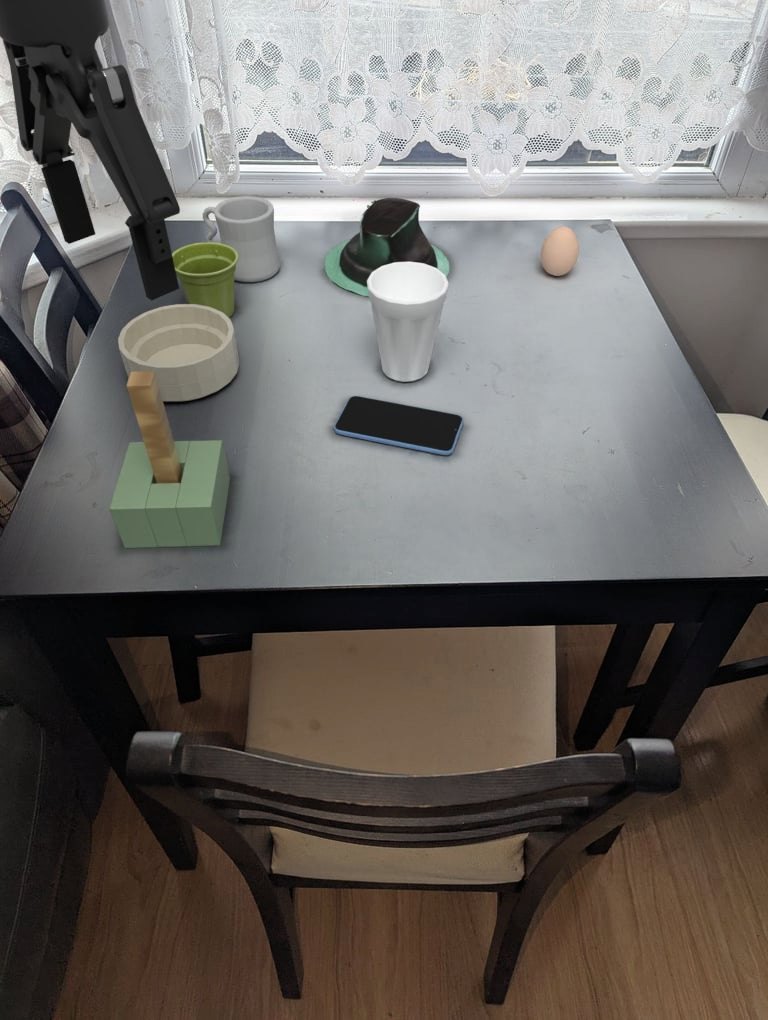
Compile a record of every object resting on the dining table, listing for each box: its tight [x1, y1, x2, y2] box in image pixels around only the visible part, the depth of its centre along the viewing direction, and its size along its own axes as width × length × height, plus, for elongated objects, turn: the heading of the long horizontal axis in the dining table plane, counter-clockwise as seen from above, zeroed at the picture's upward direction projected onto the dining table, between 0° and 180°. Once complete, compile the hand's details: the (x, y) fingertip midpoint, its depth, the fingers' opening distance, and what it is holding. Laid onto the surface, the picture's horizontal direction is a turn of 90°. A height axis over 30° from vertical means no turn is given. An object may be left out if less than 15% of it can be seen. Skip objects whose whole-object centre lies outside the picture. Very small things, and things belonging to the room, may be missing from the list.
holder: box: [109, 439, 231, 549], centre depth 78 cm, size 10×10×6 cm
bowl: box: [117, 303, 240, 402], centre depth 95 cm, size 14×14×6 cm
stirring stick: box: [126, 371, 183, 484], centre depth 73 cm, size 2×2×18 cm
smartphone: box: [333, 395, 464, 456], centre depth 89 cm, size 7×1×15 cm
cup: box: [367, 262, 450, 383], centre depth 93 cm, size 10×10×13 cm
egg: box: [540, 226, 580, 277], centre depth 113 cm, size 6×6×8 cm
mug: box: [202, 195, 281, 283], centre depth 113 cm, size 12×9×10 cm
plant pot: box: [172, 241, 238, 319], centre depth 104 cm, size 9×9×9 cm
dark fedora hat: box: [324, 197, 450, 297], centre depth 116 cm, size 15×19×20 cm
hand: (119, 264), depth 64 cm, fingers open, 13 cm apart
